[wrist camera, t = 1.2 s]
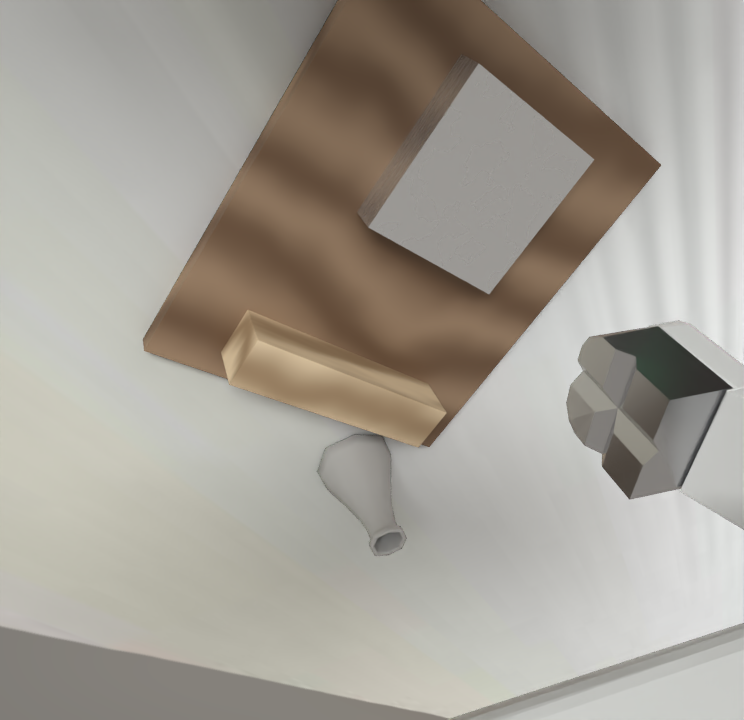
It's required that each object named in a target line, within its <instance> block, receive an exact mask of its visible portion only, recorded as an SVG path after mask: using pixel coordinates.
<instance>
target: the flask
mask: <svg viewBox="0 0 744 720" xmlns="http://www.w3.org/2000/svg"><path fill="white" fill-rule="evenodd" d="M317 472H318V474H319V476H320V477H321V479H322V481H323V483H324V484H325V486H326V488H327V489H328V490H329V491H330V492H331V493H332V494H333V495H334V496H335V497H336V498H337V499H338V500H339V501H340V502H342V503H343V504H344V505H345V506H346V507H347V508H348V509H349V510H350V511H351V512H352V513H353V514H354V515H355V516H356V517H357V518H358V519H359V520H360V521H361V523H362V524H363V526H364V527H365V529H366V530H367V532H368V534H369V537H370V542H369V546H370V548H371V550H372V552H373V553H374V555H375V556H381V555H389V554H392V553H394V552H396V551H398V550H400V549H402V547H403V545H404V543H405V541H406V539H407V538H406V535H405V533H404V531H403V529H402V528H401V526H397V523H396V521H395V517H394V513H393V508H392V499H391V454H390V452H389V450H388V447H387V445H386V443H385V441H384V438H383V436H380V435H352V436H350V437H348V438H346V439H344V440H342V441H340V442H337V443H335V444H333V445H331V446H329V447H327V448H325V451H324V454H323V457H322V459H321V462H320V465H319V467H318V470H317Z"/></svg>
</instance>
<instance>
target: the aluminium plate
mask: <svg viewBox="0 0 744 720" xmlns="http://www.w3.org/2000/svg"><path fill="white" fill-rule="evenodd" d="M593 161H594V159H593V158H592V157H591V156H590V155H588V154H587V153H586V152H585V151H584V150H582V149H581V148H580V147H579V146H578V145H576V144H575V143H574V142H573V141H572V140H570V139H569V138H568V137H567V136H566V135H564V134H563V133H562V132H561V131H560V130H558V129H557V128H556V127H555V126H554V125H552V124H551V123H550V122H549V121H548V120H546V119H545V118H544V117H543V116H542V115H540V114H539V113H538V112H537V111H536V110H534V109H533V108H532V107H531V106H529V105H528V104H527V103H526V102H525V101H523V100H522V99H521V98H520V97H519V96H517V95H516V94H515V93H514V92H513V91H511V90H510V89H509V88H508V87H507V86H505V85H504V84H503V83H502V82H501V81H499V80H498V79H497V78H496V77H495V76H493V75H492V74H491V73H490V72H489V71H487V70H486V69H485V68H484V67H483V66H481V65H480V64H479V63H477V62H475V61H474V60H472V59H470V58H468V57H466V56H464V55H462V54H461V56H460V57H459V59H458V60H457V62H456V63H455V65H454V66H453V68H452V69H451V71H450V72H449V74H448V75H447V77H446V78H445V80H444V81H443V83H442V84H441V86H440V87H439V89H438V90H437V92H436V93H435V95H434V96H433V98H432V99H431V101H430V102H429V104H428V106H427V107H426V109H425V110H424V112H423V113H422V115H421V116H420V118H419V119H418V121H417V122H416V124H415V125H414V127H413V128H412V130H411V131H410V133H409V134H408V136H407V137H406V139H405V140H404V142H403V143H402V145H401V146H400V148H399V149H398V151H397V152H396V154H395V155H394V157H393V158H392V160H391V161H390V163H389V165H388V166H387V168H386V169H385V171H384V172H383V174H382V175H381V177H380V178H379V180H378V181H377V183H376V184H375V186H374V187H373V189H372V190H371V192H370V193H369V195H368V196H367V198H366V199H365V201H364V202H363V204H362V205H361V207H360V208H359V210H358V211H357V213H358V214H359V216H360V217H361V218H362V220H363V221H364V222H365V224H366V225H367V226H368V228H370V229H372V230H374V231H376V232H377V233H379V234H381V235H383V236H385V237H386V238H388V239H390V240H392V241H394V242H395V243H397V244H399V245H401V246H403V247H404V248H406V249H408V250H410V251H412V252H413V253H415V254H417V255H419V256H421V257H422V258H424V259H426V260H428V261H430V262H432V263H433V264H435V265H437V266H439V267H441V268H442V269H444V270H446V271H448V272H450V273H451V274H453V275H455V276H457V277H459V278H460V279H462V280H464V281H466V282H468V283H469V284H471V285H473V286H475V287H477V288H478V289H480V290H482V291H484V292H486V293H487V294H490V293H491V291H492V290H493V289H494V288H495V286H496V285H497V284H498V282H499V281H500V280H501V279H502V277H503V276H504V275H505V273H506V272H507V271H508V270H509V268H510V267H511V266H512V264H513V263H514V262H515V261H516V259H517V258H518V257H519V256H520V254H521V253H522V252H523V250H524V249H525V248H526V247H527V245H528V244H529V243H530V241H531V240H532V239H533V238H534V236H535V235H536V234H537V232H538V231H539V230H540V229H541V227H542V226H543V225H544V224H545V222H546V221H547V220H548V218H549V217H550V216H551V215H552V213H553V212H554V211H555V209H556V208H557V207H558V206H559V204H560V203H561V202H562V200H563V199H564V198H565V197H566V195H567V194H568V193H569V192H570V190H571V189H572V188H573V186H574V185H575V184H576V183H577V181H578V180H579V179H580V177H581V176H582V175H583V174H584V172H585V171H586V170H587V168H588V167H589V166H590V165H591V163H592V162H593Z"/></svg>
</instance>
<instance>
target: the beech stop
mask: <svg viewBox="0 0 744 720" xmlns="http://www.w3.org/2000/svg"><path fill="white" fill-rule="evenodd" d="M221 354H222V358H223V362H224V366H225V370H226V374H227V378H228V381H229V385H232V386H235V387H238V388H241V389H244V390H247V391H250V392H253V393H256V394H259V395H262V396H265V397H268V398H271V399H274V400H277V401H280V402H283V403H286V404H289V405H292V406H295V407H298V408H301V409H304V410H307V411H310V412H313V413H316V414H319V415H322V416H325V417H328V418H331V419H334V420H337V421H340V422H343V423H346V424H349V425H352V426H355V427H358V428H361V429H364V430H367V431H370V432H373V433H376V434H379V435H382V436H385V437H388V438H391V439H394V440H397V441H400V442H403V443H406V444H409V445H412V446H415V447H419V446H420V445H421V444H422V443H423V441H424V440H425V439H426V438H427V436H428V435H429V434H430V433H431V432H432V430H433V429H434V428H435V427H436V425H437V424H438V423H439V422H440V421H441V419H442V418H443V417H444V416H445V414H446V411H445V409H444V408H443V406H442V405H441V403H440V402H439V400H438V398H437V397H436V395H435V394H434V392H433V391H432V389H431V387H430V386H429V384H427V383H425V382H422V381H420V380H418V379H415V378H413V377H410V376H408V375H405V374H403V373H401V372H398V371H396V370H393V369H391V368H388V367H386V366H384V365H381V364H379V363H376V362H374V361H371V360H369V359H366V358H364V357H362V356H359V355H357V354H354V353H352V352H349V351H347V350H345V349H342V348H340V347H337V346H335V345H332V344H330V343H328V342H325V341H323V340H320V339H318V338H315V337H313V336H311V335H308V334H306V333H303V332H301V331H298V330H296V329H293V328H291V327H289V326H286V325H284V324H281V323H279V322H276V321H274V320H272V319H269V318H267V317H264V316H262V315H259V314H257V313H255V312H252V311H250V310H247V312H246V313H245V315H244V317H243V318H242V320H241V321H240V323H239V324H238V326H237V328H236V329H235V331H234V332H233V334H232V336H231V337H230V339H229V340H228V342H227V343H226V345H225V347H224V348H223V350H222V351H221Z"/></svg>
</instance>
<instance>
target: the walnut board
mask: <svg viewBox="0 0 744 720" xmlns="http://www.w3.org/2000/svg"><path fill="white" fill-rule="evenodd" d="M461 54H462V55H464V56H466V57H468V58H470V59H472V60H474V61H475V62H477V63H479V64H480V65H481V66H483V67H484V68H485V69H486V70H487V71H489V72H490V73H491V74H492V75H493V76H495V77H496V78H497V79H498V80H499V81H501V82H502V83H503V84H504V85H505V86H507V87H508V88H509V89H510V90H511V91H513V92H514V93H515V94H516V95H517V96H519V97H520V98H521V99H522V100H523V101H525V102H526V103H527V104H528V105H529V106H531V107H532V108H533V109H534V110H536V111H537V112H538V113H539V114H540V115H542V116H543V117H544V118H545V119H546V120H548V121H549V122H550V123H551V124H552V125H554V126H555V127H556V128H557V129H558V130H560V131H561V132H562V133H563V134H564V135H566V136H567V137H568V138H569V139H570V140H572V141H573V142H574V143H575V144H576V145H578V146H579V147H580V148H581V149H582V150H584V151H585V152H586V153H587V154H588V155H590V156H591V157H592V158H593V159H594V161H593V162H592V163H591V165H590V166H589V167H588V168H587V170H586V171H585V172H584V174H583V175H582V176H581V177H580V179H579V180H578V181H577V183H576V184H575V185H574V186H573V188H572V189H571V190H570V192H569V193H568V194H567V195H566V197H565V198H564V199H563V200H562V202H561V203H560V204H559V206H558V207H557V208H556V209H555V211H554V212H553V213H552V215H551V216H550V217H549V218H548V220H547V221H546V222H545V224H544V225H543V226H542V227H541V229H540V230H539V231H538V232H537V234H536V235H535V236H534V238H533V239H532V240H531V241H530V243H529V244H528V245H527V247H526V248H525V249H524V250H523V252H522V253H521V254H520V256H519V257H518V258H517V259H516V261H515V262H514V263H513V264H512V266H511V267H510V268H509V270H508V271H507V272H506V273H505V275H504V276H503V277H502V279H501V280H500V281H499V282H498V284H497V285H496V286H495V288H494V289H493V290H492V291H491V293H490V294H487V293H486V292H484V291H482V290H480V289H478V288H477V287H475V286H473V285H471V284H469V283H468V282H466V281H464V280H462V279H460V278H459V277H457V276H455V275H453V274H451V273H450V272H448V271H446V270H444V269H442V268H441V267H439V266H437V265H435V264H433V263H432V262H430V261H428V260H426V259H424V258H422V257H421V256H419V255H417V254H415V253H413V252H412V251H410V250H408V249H406V248H404V247H403V246H401V245H399V244H397V243H395V242H394V241H392V240H390V239H388V238H386V237H385V236H383V235H381V234H379V233H377V232H376V231H374V230H372V229H370V228H368V226H367V225H366V224H365V222H364V221H363V220H362V218H361V217H360V216H359V214H358V213H357V211H358V210H359V208H360V207H361V205H362V204H363V202H364V201H365V199H366V198H367V196H368V195H369V193H370V192H371V190H372V189H373V187H374V186H375V184H376V183H377V181H378V180H379V178H380V177H381V175H382V174H383V172H384V171H385V169H386V168H387V166H388V165H389V163H390V161H391V160H392V158H393V157H394V155H395V154H396V152H397V151H398V149H399V148H400V146H401V145H402V143H403V142H404V140H405V139H406V137H407V136H408V134H409V133H410V131H411V130H412V128H413V127H414V125H415V124H416V122H417V121H418V119H419V118H420V116H421V115H422V113H423V112H424V110H425V109H426V107H427V106H428V104H429V102H430V101H431V99H432V98H433V96H434V95H435V93H436V92H437V90H438V89H439V87H440V86H441V84H442V83H443V81H444V80H445V78H446V77H447V75H448V74H449V72H450V71H451V69H452V68H453V66H454V65H455V63H456V62H457V60H458V59H459V57H460V56H461ZM660 166H661V164H660V163H658V162H657V161H656V160H655V159H654V158H653V157H652V156H651V155H650V154H649V153H648V152H646V151H645V150H644V149H643V148H642V147H641V146H640V145H639V144H638V143H637V142H635V141H634V140H633V139H632V138H631V137H630V136H629V135H628V134H627V133H626V132H625V131H623V130H622V129H621V128H620V127H619V126H618V125H617V124H616V123H615V122H614V121H612V120H611V119H610V118H609V117H608V116H607V115H606V114H605V113H604V112H603V111H601V110H600V109H599V108H598V107H597V106H596V105H595V104H594V103H593V102H592V101H591V100H589V99H588V98H587V97H586V96H585V95H584V94H583V93H582V92H581V91H580V90H578V89H577V88H576V87H575V86H574V85H573V84H572V83H571V82H570V81H569V80H568V79H566V78H565V77H564V76H563V75H562V74H561V73H560V72H559V71H558V70H557V69H555V68H554V67H553V66H552V65H551V64H550V63H549V62H548V61H547V60H546V59H544V58H543V57H542V56H541V55H540V54H539V53H538V52H537V51H536V50H535V49H534V48H532V47H531V46H530V45H529V44H528V43H527V42H526V41H525V40H524V39H523V38H521V37H520V36H519V35H518V34H517V33H516V32H515V31H514V30H513V29H512V28H511V27H509V26H508V25H507V24H506V23H505V22H504V21H503V20H502V19H501V18H500V17H498V16H497V15H496V14H495V13H494V12H493V11H492V10H491V9H490V8H489V7H487V6H486V5H485V4H484V3H483V2H482V1H481V0H338V1H337V3H336V4H335V6H334V8H333V10H332V11H331V13H330V15H329V17H328V18H327V20H326V22H325V24H324V25H323V27H322V29H321V30H320V32H319V34H318V36H317V37H316V39H315V41H314V43H313V44H312V46H311V48H310V50H309V51H308V53H307V55H306V57H305V58H304V60H303V62H302V64H301V65H300V67H299V69H298V71H297V72H296V74H295V76H294V77H293V79H292V81H291V83H290V84H289V86H288V88H287V90H286V91H285V93H284V95H283V97H282V98H281V100H280V102H279V104H278V105H277V107H276V109H275V111H274V112H273V114H272V116H271V117H270V119H269V121H268V123H267V124H266V126H265V128H264V130H263V131H262V133H261V135H260V137H259V138H258V140H257V142H256V144H255V145H254V147H253V149H252V151H251V152H250V154H249V156H248V158H247V159H246V161H245V163H244V164H243V166H242V168H241V170H240V171H239V173H238V175H237V177H236V178H235V180H234V182H233V184H232V185H231V187H230V189H229V191H228V192H227V194H226V196H225V198H224V199H223V201H222V203H221V204H220V206H219V208H218V210H217V211H216V213H215V215H214V217H213V218H212V220H211V222H210V224H209V225H208V227H207V229H206V231H205V232H204V234H203V236H202V238H201V239H200V241H199V243H198V245H197V246H196V248H195V250H194V251H193V253H192V255H191V257H190V258H189V260H188V262H187V264H186V265H185V267H184V269H183V271H182V272H181V274H180V276H179V278H178V279H177V281H176V283H175V285H174V286H173V288H172V290H171V291H170V293H169V295H168V297H167V298H166V300H165V302H164V304H163V305H162V307H161V309H160V311H159V312H158V314H157V316H156V318H155V319H154V321H153V323H152V325H151V326H150V328H149V330H148V332H147V333H146V335H145V337H144V338H143V344H144V351H146V352H149V353H152V354H155V355H158V356H161V357H164V358H167V359H170V360H173V361H176V362H179V363H182V364H185V365H188V366H191V367H194V368H197V369H200V370H202V371H205V372H208V373H211V374H214V375H217V376H220V377H223V378H226V379H228V378H227V374H226V370H225V366H224V362H223V358H222V354H221V351H222V350H223V348H224V347H225V345H226V343H227V342H228V340H229V339H230V337H231V336H232V334H233V332H234V331H235V329H236V328H237V326H238V324H239V323H240V321H241V320H242V318H243V317H244V315H245V313H246V312H247V310H250V311H252V312H255V313H257V314H259V315H262V316H264V317H267V318H269V319H272V320H274V321H276V322H279V323H281V324H284V325H286V326H289V327H291V328H293V329H296V330H298V331H301V332H303V333H306V334H308V335H311V336H313V337H315V338H318V339H320V340H323V341H325V342H328V343H330V344H332V345H335V346H337V347H340V348H342V349H345V350H347V351H349V352H352V353H354V354H357V355H359V356H362V357H364V358H366V359H369V360H371V361H374V362H376V363H379V364H381V365H384V366H386V367H388V368H391V369H393V370H396V371H398V372H401V373H403V374H405V375H408V376H410V377H413V378H415V379H418V380H420V381H422V382H425V383H427V384H429V386H430V387H431V389H432V391H433V392H434V394H435V395H436V397H437V398H438V400H439V402H440V403H441V405H442V406H443V408H444V409H445V411H446V414H445V416H444V417H443V418H442V419H441V421H440V422H439V423H438V424H437V425H436V427H435V428H434V429H433V430H432V432H431V433H430V434H429V435H428V436H427V438H426V439H425V440H424V441H423V443H422V445H424V446H427V447H430V445H431V444H432V443H433V442H434V441H435V439H436V438H437V437H438V436H439V435H440V433H441V432H442V431H443V430H444V428H445V427H446V426H447V425H448V424H449V422H450V421H451V420H452V419H453V418H454V416H455V415H456V414H457V413H458V411H459V410H460V409H461V408H462V407H463V405H464V404H465V403H466V402H467V401H468V399H469V398H470V397H471V396H472V394H473V393H474V392H475V391H476V390H477V388H478V387H479V386H480V385H481V384H482V382H483V381H484V380H485V379H486V377H487V376H488V375H489V374H490V373H491V371H492V370H493V369H494V368H495V367H496V365H497V364H498V363H499V362H500V360H501V359H502V358H503V357H504V356H505V354H506V353H507V352H508V351H509V350H510V348H511V347H512V346H513V345H514V343H515V342H516V341H517V340H518V339H519V337H520V336H521V335H522V334H523V333H524V331H525V330H526V329H527V328H528V326H529V325H530V324H531V323H532V322H533V320H534V319H535V318H536V317H537V316H538V314H539V313H540V312H541V311H542V309H543V308H544V307H545V306H546V305H547V303H548V302H549V301H550V300H551V299H552V297H553V296H554V295H555V294H556V292H557V291H558V290H559V289H560V288H561V286H562V285H563V284H564V283H565V282H566V280H567V279H568V278H569V277H570V275H571V274H572V273H573V272H574V271H575V269H576V268H577V267H578V266H579V265H580V263H581V262H582V261H583V260H584V258H585V257H586V256H587V255H588V254H589V252H590V251H591V250H592V249H593V248H594V246H595V245H596V244H597V243H598V241H599V240H600V239H601V238H602V237H603V235H604V234H605V233H606V232H607V231H608V229H609V228H610V227H611V226H612V224H613V223H614V222H615V221H616V220H617V218H618V217H619V216H620V215H621V214H622V212H623V211H624V210H625V209H626V207H627V206H628V205H629V204H630V203H631V201H632V200H633V199H634V198H635V197H636V195H637V194H638V193H639V192H640V190H641V189H642V188H643V187H644V186H645V184H646V183H647V182H648V181H649V180H650V178H651V177H652V176H653V175H654V173H655V172H656V171H657V170H658V169H659V167H660Z"/></svg>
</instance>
